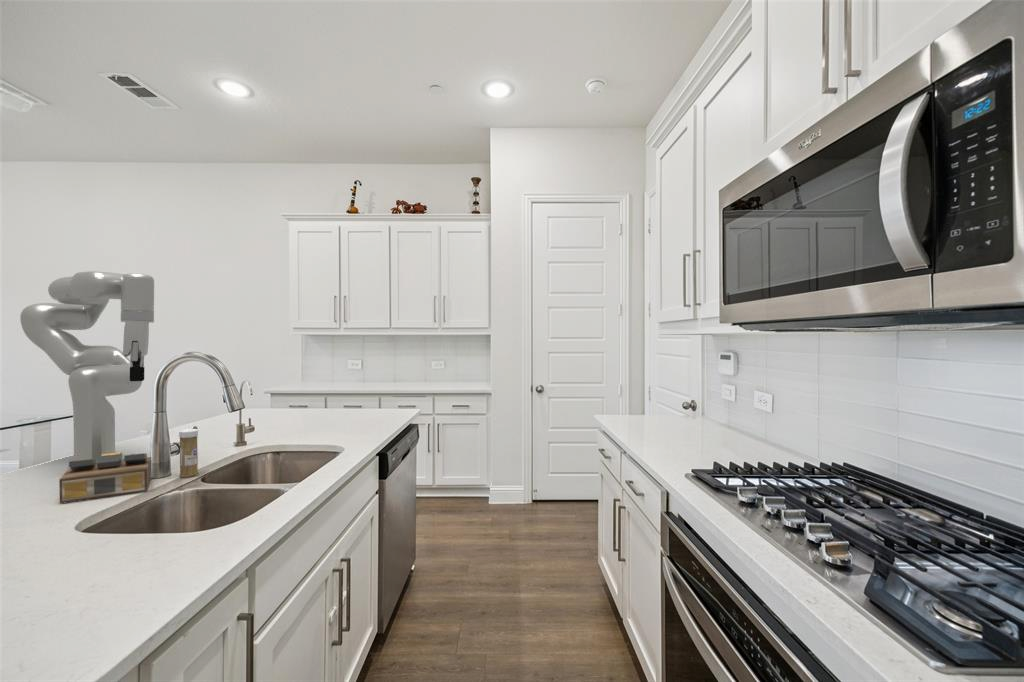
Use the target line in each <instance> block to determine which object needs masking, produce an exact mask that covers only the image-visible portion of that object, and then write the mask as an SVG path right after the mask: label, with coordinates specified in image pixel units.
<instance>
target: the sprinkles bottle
mask: <svg viewBox="0 0 1024 682" xmlns="http://www.w3.org/2000/svg"><path fill="white" fill-rule="evenodd" d="M178 433H179V434H178V436H179V467H180V468H179V477H181V478H190V477H195V476H198V474H199V472H198V463H199V456H198V454H199V453H198V436H199V430H198V429H197V428H185V429H182V430H179V431H178Z"/></svg>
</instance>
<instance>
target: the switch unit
mask: <svg viewBox="0 0 1024 682" xmlns="http://www.w3.org/2000/svg"><path fill="white" fill-rule="evenodd" d="M69 468H70V467H69ZM151 480H152V456H149V457H148V456H147V459H146V461H144V462H135V463H125V461H124V459H121V464H120V465H119V466H114V467H105V468H97V463H96V464H94V467H91V468H82V469H73V470H71V468H70V469H69V470H68V471H67V470H66V472H65V473H64V474H63V475H62V476H61V477H60V478H59V487H58V488H59V504H60V503H62V504H65V503H64V502H69V503H71V502H70V501H76V502H80V501H79V500H83V501H88V500H87V499H90V500H95V499H94V498H97V499H102V498H103V497H104V498H111V497H117V495H118V496H125V495H130V494H139V493H145V492H148V489H149V486H150V483H151ZM110 496H111V497H110Z"/></svg>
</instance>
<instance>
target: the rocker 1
mask: <svg viewBox="0 0 1024 682" xmlns="http://www.w3.org/2000/svg"><path fill="white" fill-rule="evenodd" d="M94 464H96V459H85V460H76V461H74V460H72V461H71V460H70V461H69V462H68V468H70V467H71V470H73V469H82V468H91V467H94Z"/></svg>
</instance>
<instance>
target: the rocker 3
mask: <svg viewBox="0 0 1024 682" xmlns="http://www.w3.org/2000/svg"><path fill="white" fill-rule="evenodd" d="M123 456H124V457H123V460H124V461H125V463H135V462H144V461H146V459H147V458H148V453H146V452H143V453H137V454H136V453H134V454H126V455H123Z"/></svg>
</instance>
